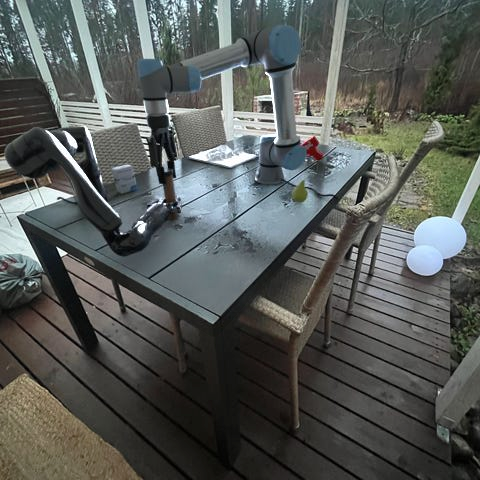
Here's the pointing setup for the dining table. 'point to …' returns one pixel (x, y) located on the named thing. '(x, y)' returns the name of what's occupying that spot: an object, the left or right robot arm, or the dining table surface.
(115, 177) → the ink box
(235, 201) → the dining table surface
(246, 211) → the dining table surface
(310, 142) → the toy gun
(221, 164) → the relief map
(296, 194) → the fruit
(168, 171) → the lid
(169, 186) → the jar
